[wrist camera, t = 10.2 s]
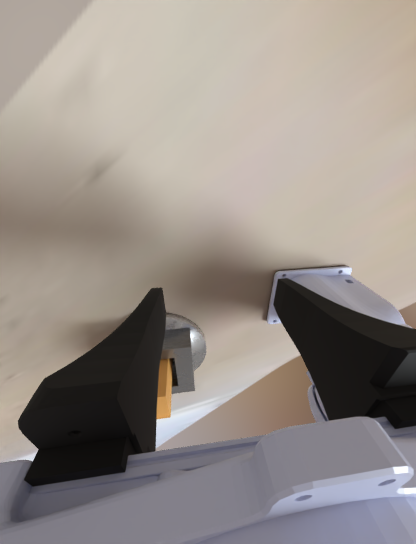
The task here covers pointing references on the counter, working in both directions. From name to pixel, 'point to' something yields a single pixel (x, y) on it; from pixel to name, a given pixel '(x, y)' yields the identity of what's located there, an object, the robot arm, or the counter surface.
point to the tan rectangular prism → (164, 388)
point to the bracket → (183, 351)
